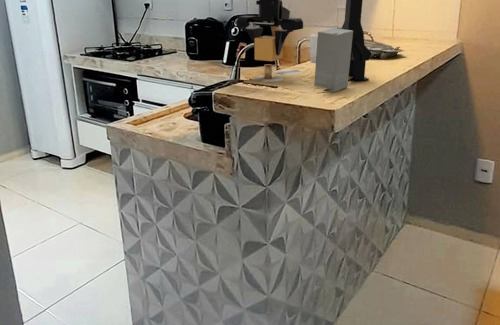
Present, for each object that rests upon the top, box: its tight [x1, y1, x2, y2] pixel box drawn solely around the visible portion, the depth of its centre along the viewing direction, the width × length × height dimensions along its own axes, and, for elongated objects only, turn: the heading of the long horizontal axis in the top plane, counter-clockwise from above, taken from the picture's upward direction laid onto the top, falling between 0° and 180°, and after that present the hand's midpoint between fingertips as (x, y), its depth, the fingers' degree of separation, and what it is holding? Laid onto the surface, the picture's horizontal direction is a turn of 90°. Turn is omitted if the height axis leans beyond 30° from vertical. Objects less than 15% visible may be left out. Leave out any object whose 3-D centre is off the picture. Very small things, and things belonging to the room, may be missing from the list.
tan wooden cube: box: [254, 35, 284, 62], centre depth 139 cm, size 6×6×6 cm
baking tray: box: [364, 38, 405, 60], centre depth 193 cm, size 30×22×5 cm
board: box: [242, 69, 304, 89], centre depth 147 cm, size 11×22×1 cm, turn 147°
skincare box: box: [313, 27, 353, 93], centre depth 132 cm, size 8×7×16 cm
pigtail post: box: [263, 63, 273, 79], centre depth 141 cm, size 2×2×4 cm
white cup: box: [309, 33, 318, 64], centre depth 171 cm, size 8×8×10 cm
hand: (268, 54), depth 139 cm, fingers closed on tan wooden cube, 6 cm apart
